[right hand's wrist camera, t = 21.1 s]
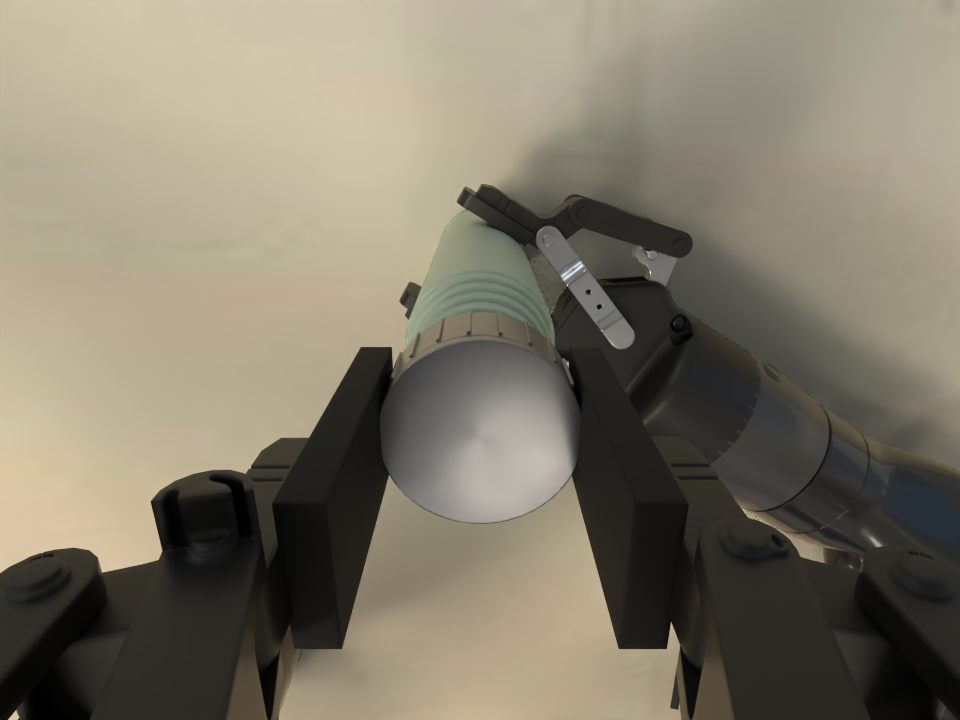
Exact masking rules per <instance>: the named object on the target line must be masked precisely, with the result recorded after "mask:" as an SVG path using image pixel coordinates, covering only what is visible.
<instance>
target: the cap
mask: <svg viewBox="0 0 960 720" xmlns="http://www.w3.org/2000/svg"><path fill="white" fill-rule="evenodd" d="M574 386H575V384H574V381H573V379H572V376H571V373H570V371H569V368H568V366H567V363H566V361H565V359H562V358H561V356H560V355H559V353H558V352H557V350H556V349H555V347H554V346H553V345H552V343H551V340H550V338H549V337H547V338H546V337H545V336H544V335H542V334H541V333H540V332H539V331H537V330H536V329H535V328H533V327H531V326H530V325H528V322H527V321H524V322H522V321H520V320H518V319H515V318H513V317H509V316H506V315H502V314H501V312H497V314H496V313H490V312H473V313H472V311H468V313H464V314H460V315H455V316H452V317H449V318H446V319H444V318H441V319H440V321H439V322H437V323H435V324H433V325H431V326H430V327H428V328H427V329H425V330H424V331H423V332H421V333H419V332H418V333H417V334H416V336H415V339H413V340H412V341H411V343H410V344H409V345H408V346H407V348H406V349H405V350H404V352H403V353H401V352H400V354H399V355H398V358H397V361H396V363H395V366H394V369H393V371H392V374H391V377H390V383H389V386H388V388H387V391H386V394H385V397H384V399H383V402H382V405H381V408H380V412H379V419H380V434H381V448H382V460H383V464H384V466H385V468H386V470H387V471H388V473H389V475H390V477H391V478H392V480H393V481H394V483H395V484H396V485H397V486H398V487H399V489H400V490H401V491H402V492H403V493H404V494H405V495H406V496H407V497H409V498H410V499H411V500H412V501H413V502H415V503H416V504H418V505H419V506H421V507H422V508H424V509H425V510H427V511H429V512H431V513H433V514H435V515H438V516H441V517H444V518H446V519H450V520H454V521H458V522H465V523H477V524H486V523H497V522H502V521H507V520H511V519H514V518H518V517H521V516H523V515H525V514H528V513H530V512H532V511H534V510H536V509H537V508H539V507H541V506H542V505H544V504H545V503H546V502H548V501H549V500H550V499H552V498H553V497H554V496H555V495H556V494H557V493H558V492H559V491H560V490H561V489H562V488H563V487H564V485H565V484H566V483H567V481H568V480H569V479H570V477H571V475H572V474H573V472H574V470H575V468H576V466H577V464H578V458H579V443H580V429H581V414H582V411H581V407H580V404H579V402H578V399H577V396H576V394H575V391H574V388H573V387H574Z"/></svg>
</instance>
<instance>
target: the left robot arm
mask: <svg viewBox="0 0 960 720" xmlns="http://www.w3.org/2000/svg"><path fill="white" fill-rule="evenodd" d="M457 203H459V204H460V205H461V206H463V207H464V208H466V209H467V210H469V211H470V212H472V213H473V214H475V215H477V216H478V217H480V218H481V219H483V220H484V221H486V222H488V223H489V224H491V225H492V226H494V227H495V228H497V229H499V230H500V231H502V232H504V233H505V234H507V235H509V236H510V237H511V238H513V239H514V240H516V241H518V242H519V243H521V244H522V245H524V246H526V245H527V243H530V244H531V245H533V246H534V247H536V248H538V249H539V250H540V251H541V252H542V253H543V255H544V256H545V257H546V259H547V260H548V261H549V263H550V264H551V265H552V267H553V268H554V269H555V270H556V272H557V273H558V274H559V276H560V277H561V279H562V280H563V281H564V283H565V284H566V285H567V287H566V289H565V290H564V292H563V293H562V294H561V296H560V297H559V299H558V302H557V304H556V307H555V310H554V313H553V314H552V315H551V319H552V323H553V327H554V335H555V349H556V350H557V352H558V353H559V355H560V356H561V358H562V359H565V361H566V363H567V366H568V357H569V347H600V349H601V350H602V352H603V354H604V356H605V357H606V359H607V361H608V363H609V364H610V366H611V368H612V370H613V371H614V373H615V375H616V377H617V378H618V380H619V382H620V384H621V385H622V387H623V389H624V391H625V392H626V394H627V396H628V398H629V399H630V401H631V403H632V405H633V406H634V408H635V410H636V412H637V413H638V415H639V417H640V419H641V420H642V422H643V424H644V426H645V427H646V429H647V431H648V433H649V434H650V436H680V437H682V438H683V439H685V440H686V441H688V442H689V443H691V444H692V445H694V446H695V447H697V448H698V449H700V451H701V452H702V454H703V455H704V457H705V458H706V459H707V461H708V462H709V464H710V467H712V468H713V469H714V471H715V472H716V474H717V475H718V476H719V480H721V481H722V482H723V483H724V485H725V486H726V488H727V489H728V491H729V492H730V493H731V495H732V496H733V498H734V499H735V500H736V502H737V503H738V505H739V506H740V507H742V508H744V509H745V510H747V511H749V512H750V513H752V514H754V515H756V516H757V517H759V518H761V519H763V520H764V521H766V522H768V523H769V524H771V525H773V526H775V527H776V528H778V529H780V530H782V531H783V532H785V533H787V534H789V535H791V536H793V537H795V538H798V539H800V540H802V541H805V542H808V543H811V544H814V545H817V546H821V547H823V556H824V561H825V564H830V565H835V566H840V567H845V568H849V569H854V570H860V567H861V564H862V560H863V557H864V555H865V554H866V553H867V552H868V551H869V550H871V549H872V548H875V547H881V546H887V545H889V546H898V547H908V548H912V549H917V550H918V551H924V552H926V553H929V554H932V555H934V556H935V557H938V558H940V559H942V560H944V561H946V562H948V563H950V564H952V565H954V566H955V567H957V568H958V569H960V471H959V470H957V469H954V468H951V467H949V466H946V465H944V464H941V463H938V462H936V461H933V460H931V459H928V458H926V457H923V456H921V455H918V454H916V453H913V452H910V451H907V450H904V449H901V448H898V447H894V446H891V445H888V444H885V443H882V442H880V441H877V440H875V439H872V438H870V437H868V436H867V435H866V434H864V433H863V432H862V431H860V430H859V429H857V428H856V427H854V426H853V425H851V424H850V423H848V422H846V421H845V420H843V419H842V418H840V417H839V416H837V415H836V414H834V413H833V412H831V411H829V410H828V409H826V408H825V407H823V406H822V405H820V404H819V403H817V402H816V401H814V400H813V399H812V398H810V397H809V396H808V395H807V394H806V393H805V392H804V391H802V390H801V389H800V388H799V387H798V386H797V385H796V384H795V383H794V382H792V381H791V380H790V379H789V378H787V377H786V376H784V375H783V374H781V373H780V372H779V371H777V370H776V369H775V368H774V367H773V366H771V365H770V364H768V363H765V362H763V361H762V360H760V359H759V358H757V357H755V356H754V355H752V354H751V353H749V352H748V351H746V350H744V349H743V348H742V347H740V346H738V345H737V344H735V343H734V342H732V341H731V340H729V339H728V338H726V337H725V336H723V335H722V334H720V333H718V332H717V331H715V330H714V329H712V328H711V327H709V326H708V325H706V324H705V323H703V322H702V321H700V320H698V319H697V318H695V317H694V316H692V315H691V314H689V313H688V312H686V311H685V310H683V309H682V308H680V307H679V306H677V305H676V303H675V302H674V300H673V298H672V296H671V293H670V291H669V290H668V289H667V288H666V284H667V282H668V280H669V278H670V275H671V273H672V271H673V268H674V266H675V264H676V262H677V259H678V258H681V257H684V256H686V255H687V254H688V253H689V252H690V251H691V249H692V245H693V241H692V238H691V236H690V235H689V234H688V233H686V232H683V231H681V230H679V229H677V228H675V227H672V226H670V225H668V224H665V223H662V222H659V221H656V220H653V219H650V218H647V217H644V216H641V215H638V214H635V213H632V212H629V211H626V210H623V209H620V208H617V207H614V206H611V205H608V204H605V203H602V202H599V201H596V200H593V199H590V198H587V197H584V196H581V195H577V194H573V195H570V196H568V197H567V198H566V199H565V200H564V202H563V204H561V205H560V206H559V207H558V208H556V209H555V210H554V211H552V212H551V213H549V214H546V215H539V214H536V213H534V212H532V211H531V210H529V209H528V208H526V207H524V206H523V205H521V204H520V203H518V202H517V201H515V200H514V199H512V198H511V197H509V196H508V195H506V194H504V193H503V192H501V191H500V190H498V189H497V188H495V187H494V186H491V185H485V184H481V186H480V187H479V189H478V191H477V192H475V191H473V190H471V189H470V188H468V187H466V186H465V188H464V189H463V191H462V193H461V194H460V196H459V198H458V200H457ZM582 227H583V228H586V229H589V230H592V231H595V232H598V233H601V234H604V235H607V236H610V237H613V238H616V239H619V240H622V241H625V242H629V243H632V247H631V253H632V255H633V257H634V258H635V259H636V260H638V261H639V262H640V263H642V264H643V265H644V268H645V274H644V276H638V277H624V278H610V279H595V278H594V277H593V276H592V274H591V273H590V271H589V270H588V269H587V267H586V266H585V265H584V263H583V262H582V261H581V260H580V258H579V257H578V256H577V254H576V253H575V252H574V250H573V249H572V247H571V246H570V245H569V243H568V242H567V241H566V239H568V238H569V237H570V236H572V235H573V234H574V233H575V232H577V231H578V230H579V229H581V228H582ZM421 288H422V287H421V286H419V285H417V284H415V283H412V282H409V284H408V286H407V287H406V289H405V291H404V292H403V294H402V296H401V298H400V300H399V301H400V303H401V304H402V305H403V306H405V307H406V308H408V310H407V312H406V314H405V316H406V317H407V318H408V320H409V318H410V316H411V313H412V311H413V308H414V306H415V303H416V301H417V298H418V295H419V293H420V290H421ZM302 651H303V649H294V646H293V639H292V633H291V626H290V624H289V627H288V629H287V632H286V634H285V637H284V640H283V642H282V645H281V647H280V652H281V658H282V664H283V671H284V673H283V683H282V692H281V701H280V710H281V707H282V704H283V701H284V698H285V695H286V693H287V690H288V687H289V685H290V682H291V679H292V676H293V673H294V670H295V667H296V664H297V662H298V660H299V659H300V656H301V654H302ZM279 713H280V711H279ZM942 716H943V717H944V718H945V720H956V718H955V717H954V716H953V715H952V714H951V712H950V711H949V710H948V709H947V708H945V710H944V713H943V715H942Z"/></svg>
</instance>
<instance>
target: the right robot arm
mask: <svg viewBox="0 0 960 720" xmlns="http://www.w3.org/2000/svg"><path fill="white" fill-rule="evenodd" d="M568 368H569V371H570V373H571V376H572V379H573V381H574V384H575V386H574V387H573V388H574V391H575V394H576V396H577V399H578V402H579V404H580V407H581V411H582V414H581V429H580V443H579V458H578V464H577V466H576V468H575V470H574V472H573V474H572V478H573V481H574V485H575V489H576V492H577V496H578V500H579V504H580V507H581V511H582V515H583V518H584V522H585V526H586V529H587V533H588V537H589V540H590V544H591V548H592V552H593V555H594V559H595V563H596V566H597V570H598V574H599V577H600V581H601V585H602V588H603V592H604V596H605V600H606V603H607V607H608V611H609V614H610V618H611V622H612V625H613V629H614V633H615V636H616V640H617V644H618V648H619V649H667V644H668V637H669V631H670V624H671V622H672V625H673V627H674V630H675V632H676V635H677V637H678V640H679V643H680V652H679V658H678V664H677V670H676V676H675V682H674V688H673V694H672V701H671V707H670V708H672V709H677V710H678V707H679V702H680V709H681V719H682V720H945V718H944V717H943V716H942V715H943V713H944V710H945V708H947V709H948V710H949V711H950V712H951V714H952V715H953V716H954V717H955V718H956V720H960V569H958V568H957V567H955V566H954V565H952V564H950V563H948V562H946V561H944V560H942V559H940V558H938V557H935V556H934V555H932V554H929V553H926V552H924V551H918V550H917V549H912V548H908V547H898V546H889V545H887V546H881V547H875V548H872V549H871V550H869V551H868V552H867V553H866V554H865V555H864V557H863V560H862V564H861V567H860V570H854V569H849V568H845V567H840V566H835V565H830V564H825V563H821V562H816V561H813V560H809V559H805V558H802V557H800V555H799V553H798V550H797V549H796V548H795V546H794V545H793V544H792V542H791V541H790V540H789V538H787V537H786V536H785V535H783V534H782V533H781V532H779V531H778V530H776V529H775V528H773V527H771V526H769V525H766V524H764V523H762V522H760V521H757V520H753V519H749V518H748V517H747V516H746V515H745V513H744V512H743V510H742V509H741V508H740V506H739V505H738V503H737V502H736V500H735V499H734V498H733V496H732V495H731V493H730V492H729V491H728V489H727V488H726V486H725V485H724V483H723V482H722V481H721V480H719V476H718V475H717V474H716V472H715V471H714V469H713V468H712V467H710V464H709V462H708V461H707V459H706V458H705V457H704V455H703V454H702V452H701V451H700V449H698V448H697V447H695V446H694V445H692V444H691V443H689V442H688V441H686V440H685V439H683V438H682V437H680V436H650V434H649V433H648V431H647V429H646V427H645V426H644V424H643V422H642V420H641V419H640V417H639V415H638V413H637V412H636V410H635V408H634V406H633V405H632V403H631V401H630V399H629V398H628V396H627V394H626V392H625V391H624V389H623V387H622V385H621V384H620V382H619V380H618V378H617V377H616V375H615V373H614V371H613V370H612V368H611V366H610V364H609V363H608V361H607V359H606V357H605V356H604V354H603V352H602V350H601V349H600V347H569V357H568ZM392 371H393V363H392V347H361V348H360V350H359V352H358V353H357V355H356V357H355V359H354V360H353V362H352V364H351V366H350V367H349V369H348V371H347V373H346V374H345V376H344V378H343V380H342V381H341V383H340V385H339V387H338V388H337V390H336V392H335V394H334V395H333V397H332V399H331V401H330V402H329V404H328V406H327V408H326V409H325V411H324V413H323V415H322V416H321V418H320V420H319V422H318V423H317V425H316V427H315V429H314V430H313V432H312V434H311V436H310V437H309V438H280V439H279V440H277V441H276V442H274V443H273V444H271V445H270V446H268V447H267V448H265V449H264V450H262V451H261V453H260V454H259V456H258V457H257V458H256V460H255V461H254V463H253V464H252V466H251V469H249V470H248V471H247V473H246V474H244V473H241V472H237V471H232V470H211V471H206V472H201V473H196V474H192V475H190V476H187V477H185V478H182V479H179V480H177V481H175V482H173V483H171V484H170V485H168V486H167V487H165V488H163V489H162V490H160V491H159V492H158V494H157V495H156V496H155V497H154V498H153V499H152V500H151V505H152V509H153V513H154V517H155V521H156V525H157V530H158V534H159V538H160V542H161V546H162V550H163V551H162V554H161V556H160V558H159V560H157V561H154V562H150V563H146V564H142V565H137V566H133V567H128V568H123V569H118V570H113V571H109V572H104V573H102V571H101V568H100V564H99V561H98V557H96V556H95V555H94V554H93V553H92V552H90V551H89V550H84V549H78V548H67V549H58V550H52V551H47V552H44V553H42V554H41V553H40V554H37V555H34V556H31V557H29V558H27V559H25V560H23V561H21V562H19V563H17V564H15V565H13V566H10V567H9V568H7V569H6V570H4V571H3V572H2V573H0V720H8V719H9V718H10V716H11V715H12V714H13V713H14V712H15V710H17V713H18V715H19V719H18V720H279V711H280V701H281V692H282V683H283V673H284V671H283V664H282V658H281V652H280V647H281V645H282V642H283V640H284V637H285V634H286V632H287V629H288V627H289V624H290V626H291V633H292V639H293V646H294V649H342V646H343V643H344V639H345V635H346V632H347V628H348V624H349V620H350V617H351V613H352V609H353V606H354V602H355V598H356V595H357V591H358V587H359V583H360V580H361V576H362V572H363V569H364V565H365V561H366V558H367V554H368V550H369V547H370V543H371V539H372V535H373V532H374V528H375V524H376V521H377V517H378V513H379V510H380V506H381V502H382V499H383V495H384V491H385V487H386V484H387V480H388V476H389V473H388V471H387V470H386V468H385V466H384V464H383V460H382V448H381V434H380V419H379V412H380V408H381V405H382V402H383V399H384V397H385V394H386V391H387V388H388V386H389V383H390V377H391V374H392Z"/></svg>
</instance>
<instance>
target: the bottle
mask: <svg viewBox="0 0 960 720" xmlns="http://www.w3.org/2000/svg"><path fill="white" fill-rule="evenodd" d="M468 311H472V313H473V312H490V313H496V314H497V312H501V314H502V315H506V316H509V317H513V318H515V319H518V320H520V321H522V322H524V321H527V322H528V325H530V326H531V327H533V328H535V329H536V330H537V331H539V332H540V333H541V334H542V335H544V336H545V337H546V338H547V337H549V338H550V340H551V343H552V345H553V346H554V347H555V335H554V327H553V323H552V319H551V316H550V314H549V311H548V308H547V306H546V303H545V301H544V298H543V296H542V293H541V291H540V288H539V286H538V283H537V281H536V278H535V276H534V273H533V271H532V268H531V266H530V263H529V261H528V258H527V256H526V253H525V251H524V248H523V246H522V244H521V243H519V242H518V241H516V240H514V239H513V238H511V237H510V236H509V235H507V234H505V233H504V232H502V231H500V230H499V229H497V228H495V227H494V226H492V225H491V224H489V223H488V222H486V221H484V220H483V219H481V218H480V217H478V216H477V215H475V214H473V213H472V212H470V211H469V210H467V211H464V212H462V213H460V214H458V215H457V216H456V217H454V218H453V219H452V220H451V221H450V222H449V224H448V225H447V226H446V228H445V230H444V232H443V234H442V237H441V240H440V242H439V245H438V247H437V250H436V252H435V255H434V257H433V260H432V262H431V265H430V267H429V270H428V273H427V275H426V278H425V280H424V283H423V285H422V288H421V290H420V293H419V295H418V298H417V301H416V303H415V306H414V308H413V311H412V313H411V316H410V318H409V322H408V326H407V333H406V348H407V346H408V345H409V344H410V343H411V341H412V340H413V339H415V336H416V334H417V333H418V332H419V333H421V332H423V331H424V330H425V329H427V328H428V327H430V326H431V325H433V324H435V323H437V322H439V321H440V319H441V318H444V319H446V318H449V317H452V316H455V315H460V314H464V313H468Z"/></svg>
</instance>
